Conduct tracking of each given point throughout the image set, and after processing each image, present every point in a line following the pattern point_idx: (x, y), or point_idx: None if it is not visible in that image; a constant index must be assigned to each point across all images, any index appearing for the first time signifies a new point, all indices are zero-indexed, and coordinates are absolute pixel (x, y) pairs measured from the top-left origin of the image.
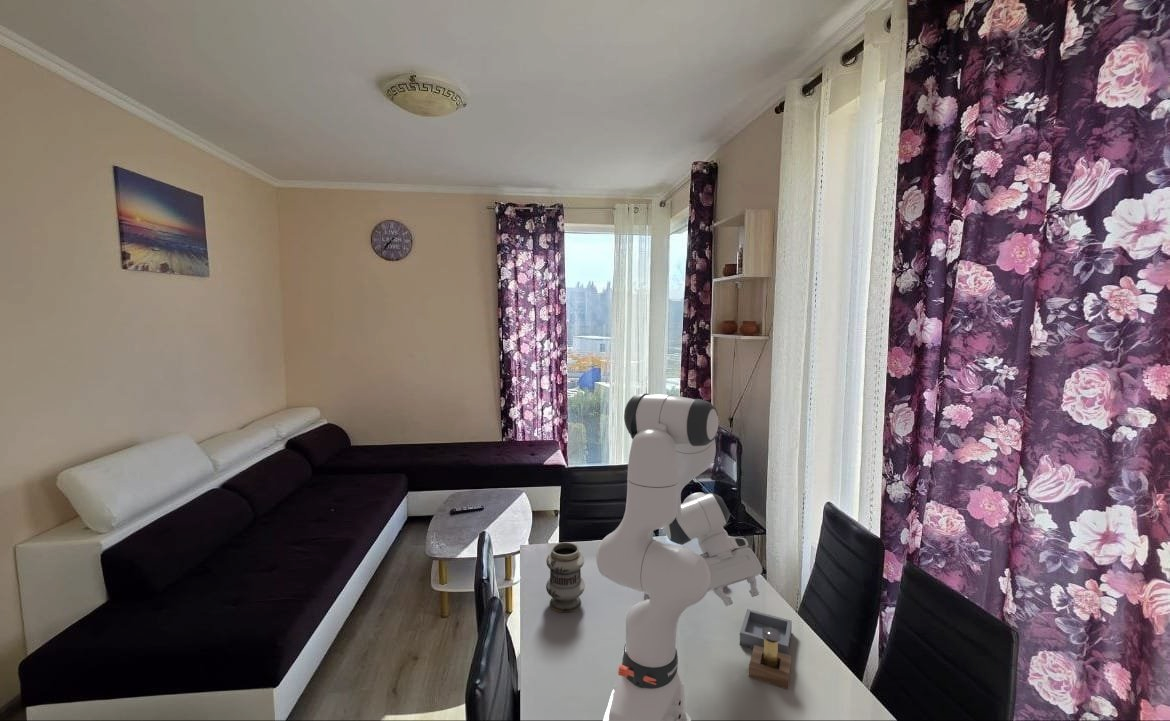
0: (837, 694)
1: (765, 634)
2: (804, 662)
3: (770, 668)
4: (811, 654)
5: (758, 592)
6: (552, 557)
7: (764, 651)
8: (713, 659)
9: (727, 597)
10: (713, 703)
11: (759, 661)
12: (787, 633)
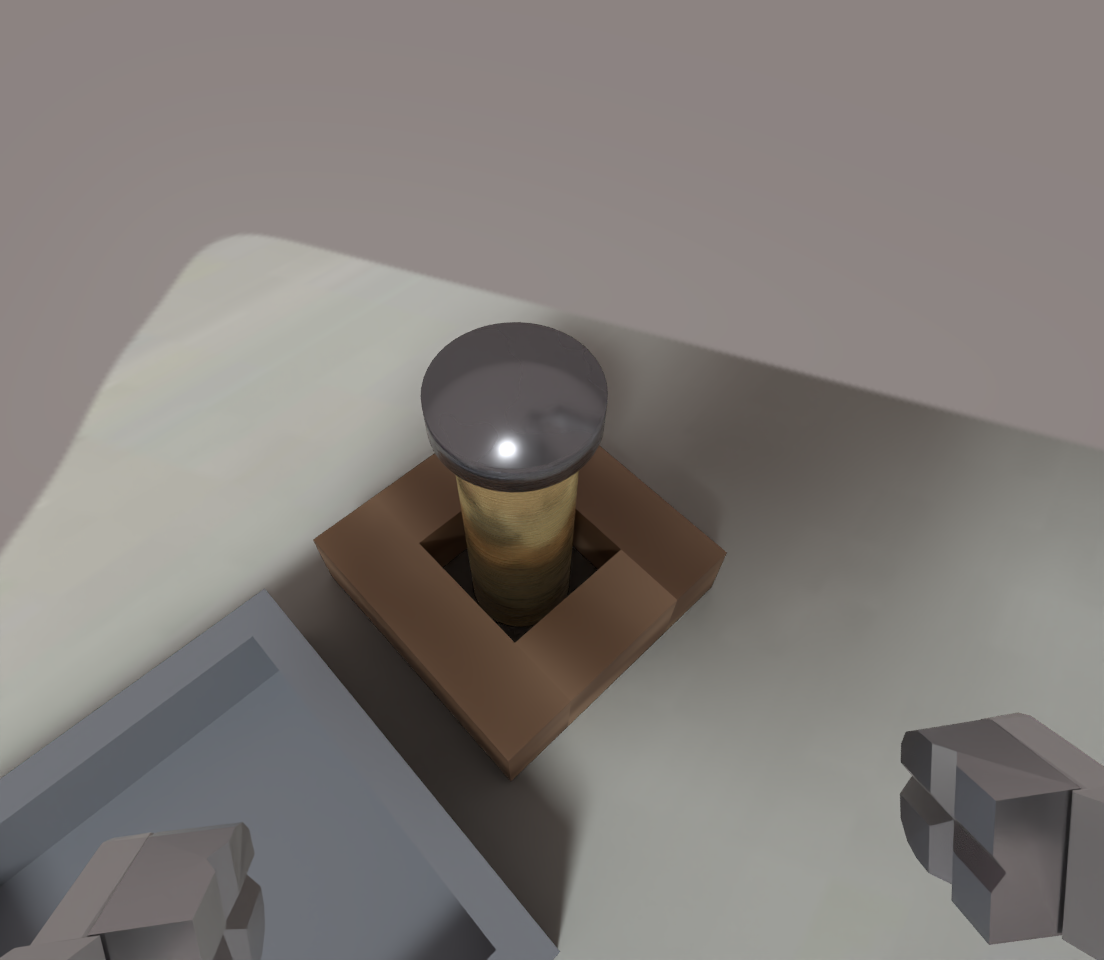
0: (292, 331)
1: (595, 385)
2: (212, 569)
3: None
4: (75, 617)
5: (114, 841)
6: None
7: (573, 516)
8: None
9: (1073, 787)
10: (1048, 482)
11: (606, 572)
12: (88, 738)
